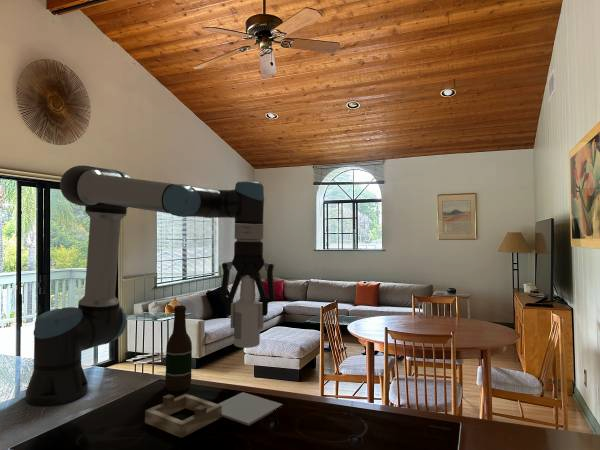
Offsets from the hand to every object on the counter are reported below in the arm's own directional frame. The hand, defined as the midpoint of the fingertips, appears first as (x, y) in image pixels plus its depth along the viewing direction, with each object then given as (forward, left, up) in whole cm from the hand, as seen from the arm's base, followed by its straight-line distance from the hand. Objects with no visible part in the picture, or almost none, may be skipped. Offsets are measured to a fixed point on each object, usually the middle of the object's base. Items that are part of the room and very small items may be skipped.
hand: (247, 327), depth 116 cm
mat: (0, 0, -22) cm, 22 cm away
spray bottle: (0, 0, -5) cm, 5 cm away
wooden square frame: (-8, -14, -22) cm, 27 cm away
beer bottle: (-26, 0, -22) cm, 34 cm away
